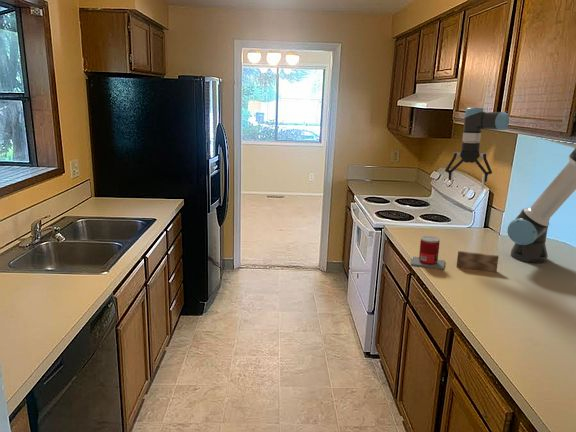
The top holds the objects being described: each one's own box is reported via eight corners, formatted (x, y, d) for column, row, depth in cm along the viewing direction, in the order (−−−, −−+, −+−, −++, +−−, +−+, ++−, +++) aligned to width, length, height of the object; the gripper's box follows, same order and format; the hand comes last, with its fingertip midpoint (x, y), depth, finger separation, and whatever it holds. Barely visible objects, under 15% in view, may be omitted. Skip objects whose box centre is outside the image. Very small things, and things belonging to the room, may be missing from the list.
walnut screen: (496, 270, 187) (498, 255, 185) (496, 272, 186) (498, 256, 184) (456, 265, 193) (458, 250, 191) (456, 266, 191) (458, 251, 190)
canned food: (438, 265, 190) (440, 241, 188) (419, 264, 192) (421, 240, 189) (436, 259, 198) (438, 236, 195) (418, 258, 199) (420, 235, 197)
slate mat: (444, 262, 197) (445, 260, 197) (443, 269, 188) (443, 267, 188) (413, 258, 202) (413, 256, 202) (410, 265, 193) (410, 263, 193)
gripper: (500, 142, 198) (495, 188, 203) (442, 140, 207) (438, 184, 212) (501, 143, 191) (496, 190, 197) (442, 142, 200) (438, 187, 205)
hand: (466, 187), depth 204 cm, fingers open, 13 cm apart
